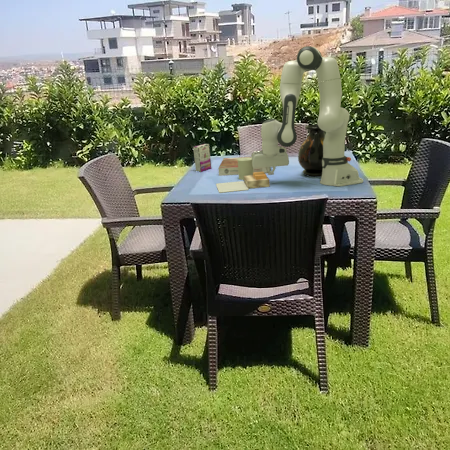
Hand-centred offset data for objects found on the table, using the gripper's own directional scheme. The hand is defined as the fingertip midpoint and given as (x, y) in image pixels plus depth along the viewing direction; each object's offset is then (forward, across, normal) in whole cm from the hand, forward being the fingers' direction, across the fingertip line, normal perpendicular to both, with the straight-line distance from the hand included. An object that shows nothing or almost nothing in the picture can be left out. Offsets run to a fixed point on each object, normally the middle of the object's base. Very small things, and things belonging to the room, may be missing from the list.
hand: (270, 174), depth 246 cm
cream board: (+5, -22, 0) cm, 23 cm away
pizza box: (+6, -8, +44) cm, 45 cm away
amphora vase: (+5, +30, +11) cm, 32 cm away
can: (+5, -11, +18) cm, 22 cm away
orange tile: (+1, -6, 0) cm, 6 cm away
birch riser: (+5, -8, 0) cm, 10 cm away
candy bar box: (+5, -35, +53) cm, 64 cm away
